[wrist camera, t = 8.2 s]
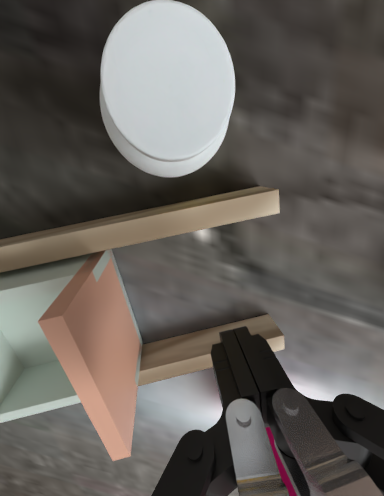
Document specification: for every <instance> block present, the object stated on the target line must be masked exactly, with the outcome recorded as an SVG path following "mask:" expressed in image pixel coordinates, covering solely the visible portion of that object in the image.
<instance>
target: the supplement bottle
mask: <svg viewBox="0 0 384 496" xmlns="http://www.w3.org/2000/svg"><path fill="white" fill-rule="evenodd" d="M100 76H101V83H100V108H101V114H102V119H103V122H104V125H105V128H106V130H107V133H108V135H109V137H110V139H111V140H112V142H113V144H114V145H115V147H116V148H117V149H118V151H119V152H120V153H121V154H122V155H123V156H124V157H125V158H126V159H127V160H128V161H129V162H130V163H131V164H133V165H134V166H136V167H137V168H139V169H140V170H142V171H144V172H146V173H149V174H152V175H156V176H160V177H179V176H183V175H187V174H189V173H192V172H194V171H196V170H198V169H199V168H201V167H202V166H203V165H205V164H206V163H207V162H208V161H209V160H210V159H211V158H212V157H213V156H214V154H215V153H216V152H217V150H218V149H219V147H220V145H221V143H222V141H223V139H224V137H225V134H226V131H227V127H228V122H229V117H230V115H231V111H232V107H233V103H234V97H235V75H234V68H233V64H232V60H231V56H230V53H229V51H228V48H227V46H226V44H225V41H224V40H223V38H222V36H221V35H220V33H219V32H218V31H217V29H216V28H215V26H214V25H213V24H212V23H211V21H210V20H209V19H208V18H206V17H205V16H204V15H203V14H202V13H201V12H199V11H197V10H196V9H194V8H193V7H191V6H189V5H186V4H184V3H181V2H177V1H172V0H153V1H148V2H145V3H142V4H140V5H138V6H136V7H134V8H132V9H131V10H130V11H128V12H127V13H126V14H125V15H124V16H123V17H122V18H121V19H120V20H119V21H118V22H117V23H116V25H115V26H114V28H113V29H112V31H111V33H110V35H109V37H108V39H107V42H106V44H105V47H104V50H103V55H102V60H101V72H100Z"/></svg>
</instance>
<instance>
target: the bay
mask: <svg viewBox="0 0 384 496" xmlns="http://www.w3.org/2000/svg"><path fill="white" fill-rule="evenodd" d="M277 213H279V190H278V189H273V188H267V187H262V186H258V187H253V188H248V189H243V190H239V191H234V192H229V193H224V194H219V195H214V196H209V197H204V198H200V199H195V200H190V201H185V202H180V203H175V204H170V205H165V206H161V207H156V208H151V209H146V210H141V211H136V212H131V213H126V214H122V215H117V216H112V217H107V218H102V219H97V220H92V221H87V222H83V223H78V224H73V225H68V226H63V227H58V228H53V229H48V230H44V231H39V232H34V233H29V234H24V235H19V236H14V237H9V238H5V239H0V273H1V272H6V271H10V270H15V269H20V268H24V267H29V266H34V265H38V264H43V263H48V262H52V261H57V260H62V259H66V258H71V257H76V256H80V255H85V254H90V253H94V252H99V251H104V250H108V249H113V248H118V247H122V246H127V245H132V244H136V243H141V242H146V241H150V240H155V239H160V238H164V237H169V236H174V235H178V234H183V233H188V232H192V231H197V230H202V229H206V228H211V227H216V226H220V225H225V224H230V223H234V222H239V221H244V220H248V219H253V218H258V217H263V216H267V215H272V214H277ZM244 326H246V327H247V328H248V330H249V332H250V334H251V335H256V334H259V335H260V336H262V337H263V338H264V339H265V340H267V342H268V344H269V346H270V347H271V350H272V351H273V352H275V351H279V350H283V349H284V335H283V333H282V332H281V331H280V329H279V328H278V327H277V325H276V324H275V322H274V321H273V320H272V318H271V317H270V316H269V314H267V315H262V316H258V317H254V318H250V319H246V320H242V321H238V322H234V323H229V324H225V325H221V326H217V327H213V328H209V329H205V330H201V331H196V332H192V333H188V334H184V335H180V336H176V337H172V338H168V339H164V340H159V341H155V342H151V343H147V344H143V345H142V351H141V361H140V370H139V380H138V386H141V385H145V384H149V383H153V382H157V381H161V380H165V379H168V378H172V377H176V376H180V375H184V374H188V373H192V372H196V371H200V370H204V369H208V368H212V367H213V364H212V358H211V349H212V344H217V343H221V342H220V335H219V332H222V331H226V330H231V329H232V330H233V329H235V328H239V327H244Z"/></svg>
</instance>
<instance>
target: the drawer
mask: <svg viewBox="0 0 384 496" xmlns="http://www.w3.org/2000/svg"><path fill="white" fill-rule="evenodd" d="M142 342H143V341H142V338H141V335H140V332H139V329H138V326H137V323H136V320H135V317H134V314H133V311H132V308H131V305H130V302H129V299H128V296H127V294H126V291H125V288H124V285H123V282H122V279H121V276H120V273H119V270H118V267H117V264H116V261H115V258H114V255H113V252H112V249H108V250H104V251H99V252H94V253H90V254H85V255H80V256H76V257H71V258H66V259H62V260H57V261H52V262H48V263H43V264H38V265H34V266H29V267H24V268H20V269H15V270H10V271H6V272H1V273H0V423H2V422H6V421H10V420H13V419H17V418H21V417H25V416H29V415H33V414H37V413H41V412H45V411H49V410H53V409H57V408H61V407H65V406H69V405H72V404H76V403H80V402H81V403H82V405H83V406H84V408H85V410H86V412H87V414H88V416H89V418H90V419H91V421H92V423H93V425H94V427H95V429H96V430H97V432H98V434H99V436H100V438H101V440H102V442H103V443H104V445H105V447H106V449H107V451H108V453H109V455H110V456H111V458H112V460H113V461H115V460H119V459H122V458H126V457H130V455H131V446H132V436H133V427H134V418H135V408H136V399H137V389H138V380H139V370H140V361H141V351H142Z"/></svg>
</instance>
